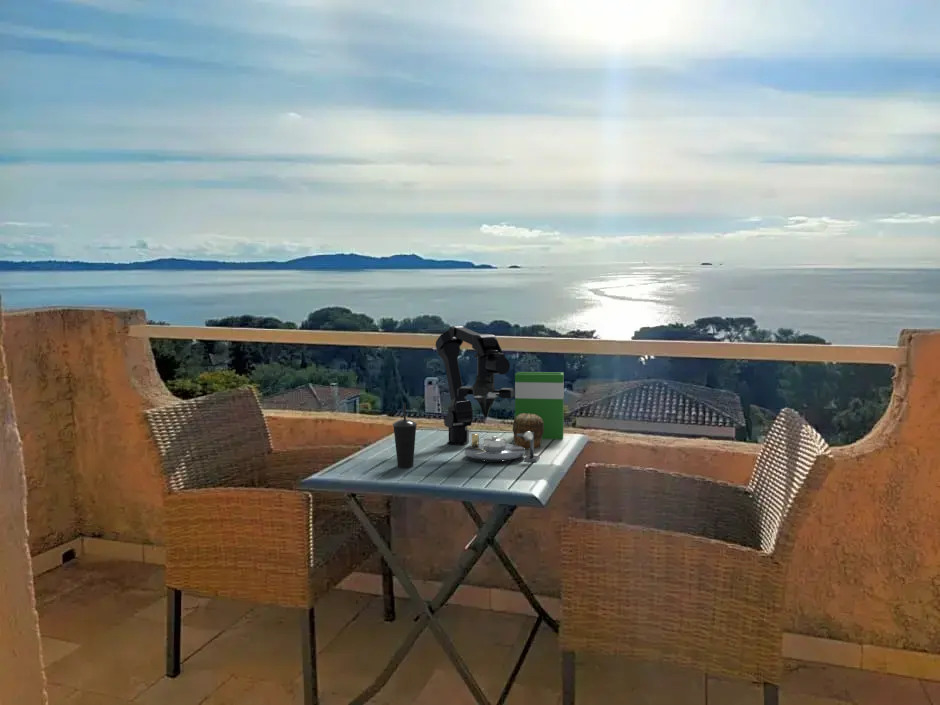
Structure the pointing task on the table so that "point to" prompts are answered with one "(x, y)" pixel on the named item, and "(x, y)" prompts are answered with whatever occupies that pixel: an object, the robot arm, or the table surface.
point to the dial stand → (530, 437)
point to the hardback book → (542, 399)
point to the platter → (480, 453)
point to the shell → (528, 429)
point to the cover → (494, 444)
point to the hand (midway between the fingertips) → (485, 417)
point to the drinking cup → (405, 441)
